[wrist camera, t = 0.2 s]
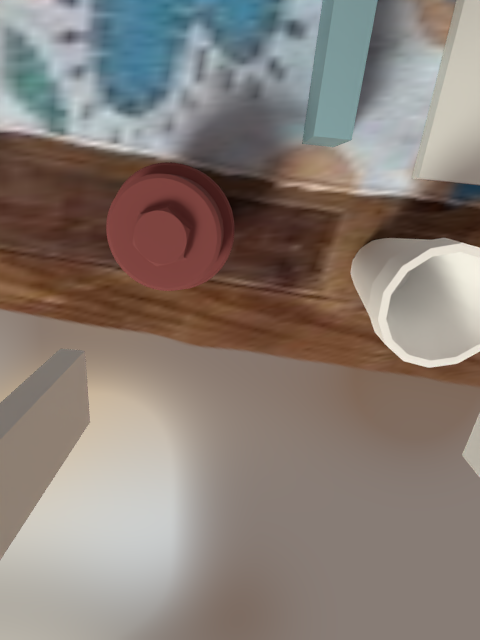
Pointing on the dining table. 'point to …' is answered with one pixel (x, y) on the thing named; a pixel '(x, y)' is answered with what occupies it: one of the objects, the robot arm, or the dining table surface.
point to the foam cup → (422, 297)
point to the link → (338, 70)
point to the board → (455, 105)
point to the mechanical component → (170, 227)
